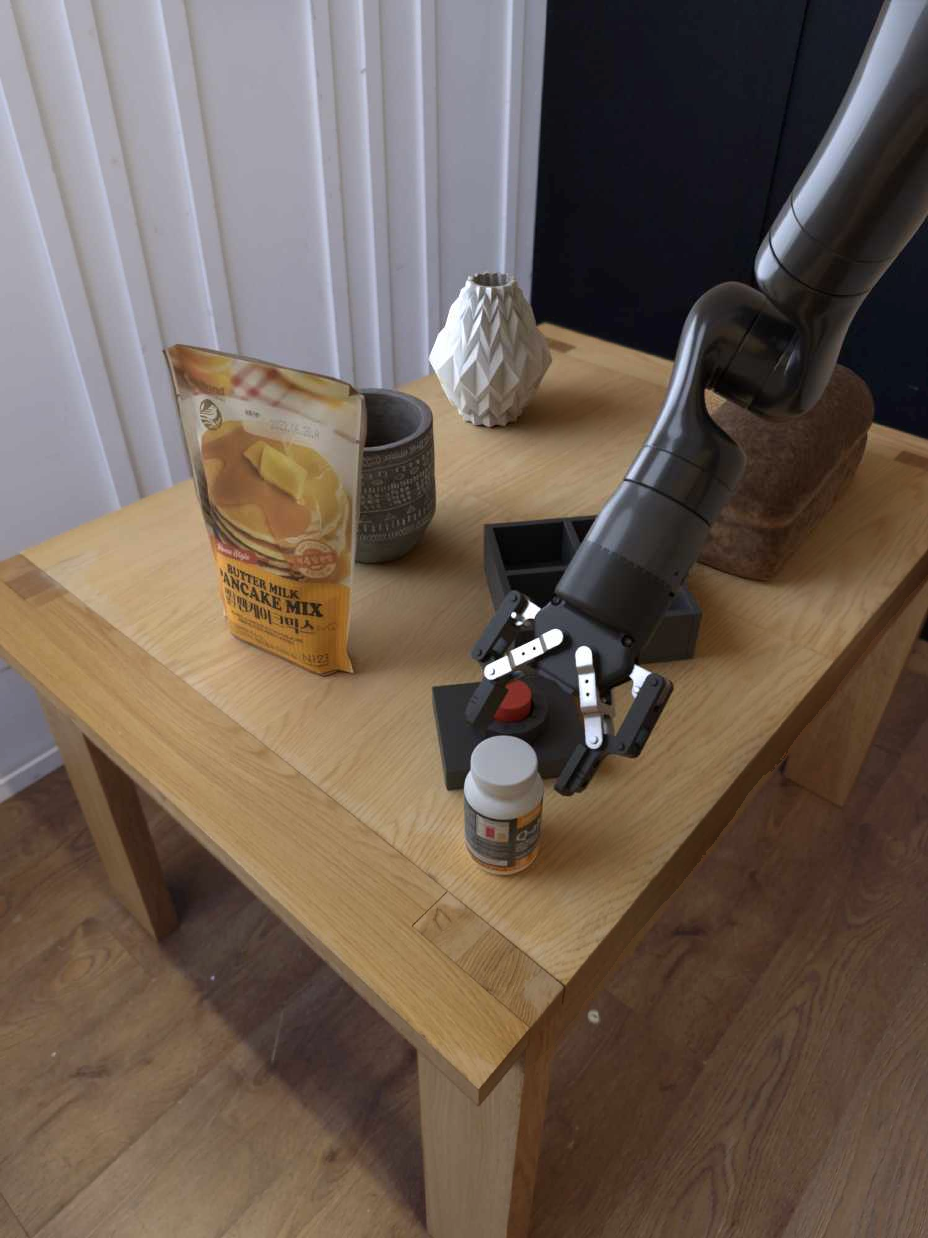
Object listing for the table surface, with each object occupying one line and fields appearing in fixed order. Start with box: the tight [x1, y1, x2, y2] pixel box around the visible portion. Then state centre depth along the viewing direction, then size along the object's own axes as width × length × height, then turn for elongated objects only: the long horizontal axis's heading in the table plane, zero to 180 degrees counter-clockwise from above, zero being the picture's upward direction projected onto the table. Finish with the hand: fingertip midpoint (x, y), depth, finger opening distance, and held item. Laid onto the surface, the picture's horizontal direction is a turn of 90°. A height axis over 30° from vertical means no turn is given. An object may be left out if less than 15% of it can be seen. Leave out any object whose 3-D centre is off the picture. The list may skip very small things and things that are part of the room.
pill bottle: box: [463, 736, 545, 876], centre depth 64 cm, size 6×6×10 cm
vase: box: [428, 270, 553, 428], centre depth 117 cm, size 16×16×18 cm
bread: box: [696, 363, 875, 581], centre depth 99 cm, size 15×32×16 cm, turn 143°
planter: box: [354, 387, 437, 564], centre depth 95 cm, size 14×14×15 cm
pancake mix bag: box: [161, 343, 367, 677], centre depth 78 cm, size 7×19×28 cm, turn 58°
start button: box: [493, 680, 531, 723], centre depth 73 cm, size 4×4×2 cm
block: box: [431, 675, 586, 791], centre depth 75 cm, size 12×10×4 cm
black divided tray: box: [483, 514, 703, 676], centre depth 88 cm, size 17×17×6 cm
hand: (516, 760), depth 63 cm, fingers open, 8 cm apart
